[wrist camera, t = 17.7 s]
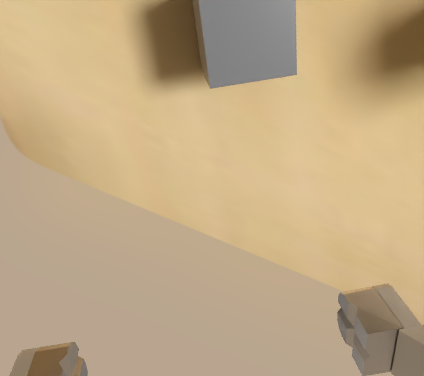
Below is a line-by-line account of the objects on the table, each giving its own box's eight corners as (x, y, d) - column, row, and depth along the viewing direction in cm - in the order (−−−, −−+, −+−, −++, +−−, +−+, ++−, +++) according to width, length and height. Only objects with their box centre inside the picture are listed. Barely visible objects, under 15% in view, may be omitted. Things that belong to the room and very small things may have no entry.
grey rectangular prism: (190, -12, 32) (196, -12, 25) (268, -24, 32) (295, -27, 26) (201, 69, 36) (210, 88, 29) (271, 57, 36) (296, 74, 29)
